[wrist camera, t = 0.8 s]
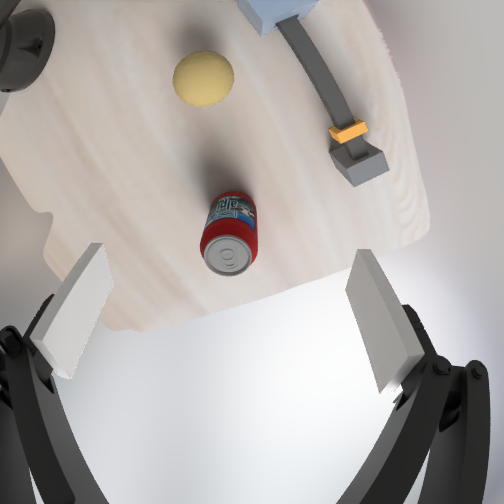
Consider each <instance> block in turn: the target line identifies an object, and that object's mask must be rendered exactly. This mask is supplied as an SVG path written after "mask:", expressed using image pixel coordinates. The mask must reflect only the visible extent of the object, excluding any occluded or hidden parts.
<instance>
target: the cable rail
mask: <svg viewBox="0 0 504 504" xmlns="http://www.w3.org/2000/svg"><path fill="white" fill-rule="evenodd" d="M275 24H276V26H277V27H278V29H279V30H280V32H281V33H282V35H283V36H284V38H285V39H286V41H287V42H288V44H289V45H290V47H291V48H292V50H293V51H294V53H295V55H296V56H297V58H298V59H299V61H300V63H301V64H302V66H303V68H304V69H305V71H306V73H307V74H308V76H309V78H310V80H311V81H312V83H313V85H314V87H315V88H316V90H317V92H318V94H319V96H320V98H321V99H322V101H323V103H324V105H325V107H326V109H327V111H328V113H329V115H330V117H331V119H332V121H333V123H334V125H335V126H334V127H332V128H330V129H328V130H329V132H330V134H331V136H332V138H334V139H335V140H337V141H338V142H339V143H341V144H342V143H343V144H344V145H343V146H341V147H339V148H337V149H335V150H333V151H330V152H329V154H330V156H331V158H332V160H333V162H334V164H335V166H336V168H337V169H338V170H339V171H340V172H341V173H342V174H343V176H344V177H345V178H346V179H347V180H348V181H349V182H350V183H351V184H352V185H353V187H356V186H358V185H360V184H362V183H364V182H366V181H368V180H370V179H372V178H374V177H377V176H379V175H381V174H383V173H385V172H387V171H389V167H388V164H387V161H386V158H385V156H384V153H383V151H381V150H379V149H378V148H376V147H374V146H373V145H371V144H369V143H367V142H366V141H364V140H363V138H362V136H361V134H363V133H365V132H368V129H367V127H366V124H365V122H364V121H361V120H359V119H356V118H353V116H352V114H351V112H350V110H349V107H348V105H347V103H346V101H345V99H344V97H343V95H342V93H341V91H340V89H339V88H338V86H337V84H336V82H335V80H334V78H333V76H332V74H331V73H330V71H329V69H328V67H327V66H326V64H325V62H324V60H323V59H322V57H321V55H320V54H319V52H318V50H317V49H316V47H315V45H314V44H313V42H312V40H311V39H310V37H309V36H308V34H307V33H306V31H305V30H304V28H303V27H302V25H301V24H300V22H299V21H298V19H297V18H296V16H295V15H294V16H292V17H289V18H287V19H284V20H282V21H279V22H277V23H275Z"/></svg>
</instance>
